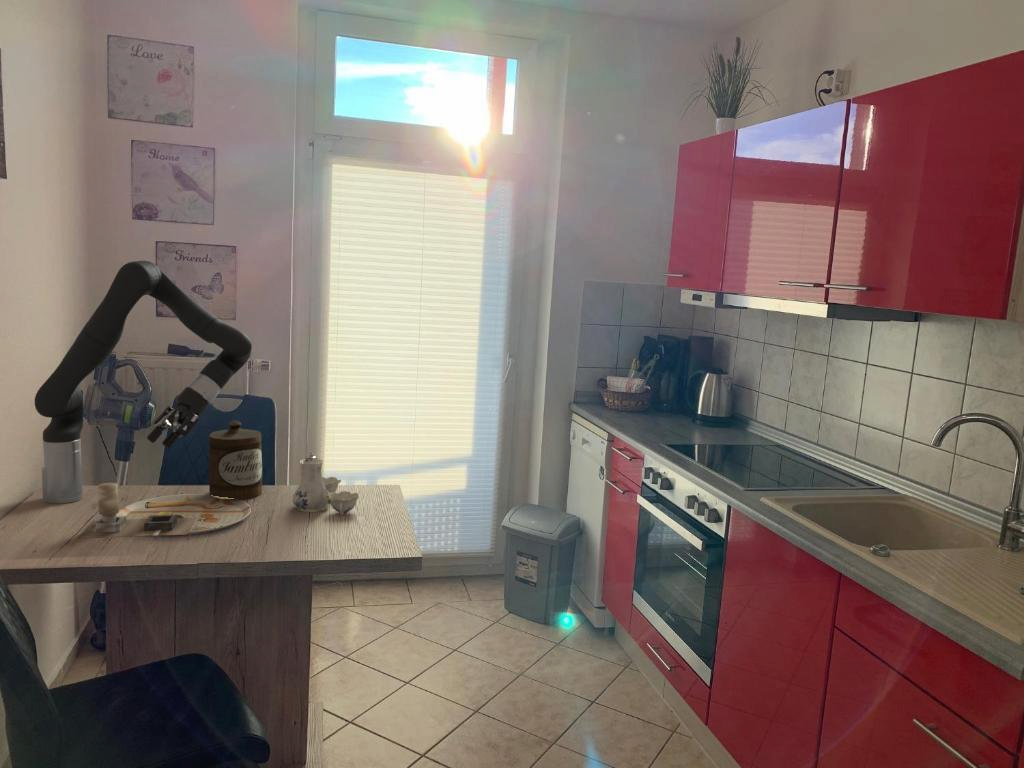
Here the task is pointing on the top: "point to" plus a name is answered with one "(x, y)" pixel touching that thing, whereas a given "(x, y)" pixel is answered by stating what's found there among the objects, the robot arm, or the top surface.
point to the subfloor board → (140, 526)
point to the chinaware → (320, 490)
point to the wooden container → (235, 463)
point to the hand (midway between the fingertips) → (157, 443)
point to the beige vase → (108, 502)
